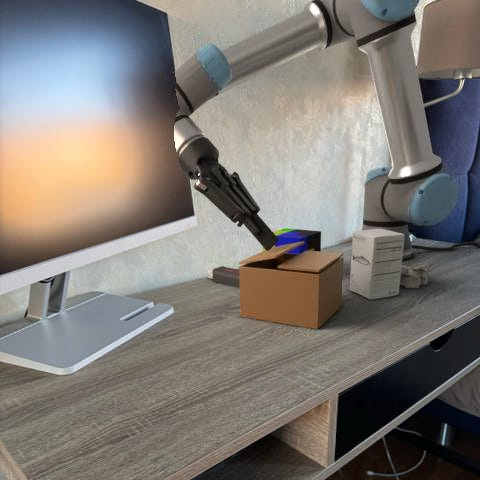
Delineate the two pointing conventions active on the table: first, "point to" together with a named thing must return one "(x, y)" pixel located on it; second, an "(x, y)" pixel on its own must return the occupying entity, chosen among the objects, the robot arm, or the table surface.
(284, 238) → the puzzle toy
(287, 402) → the table surface
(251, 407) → the table surface
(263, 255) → the flap
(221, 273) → the usb drive
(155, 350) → the table surface
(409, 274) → the egg carton
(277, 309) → the carton
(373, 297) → the white packaging box
